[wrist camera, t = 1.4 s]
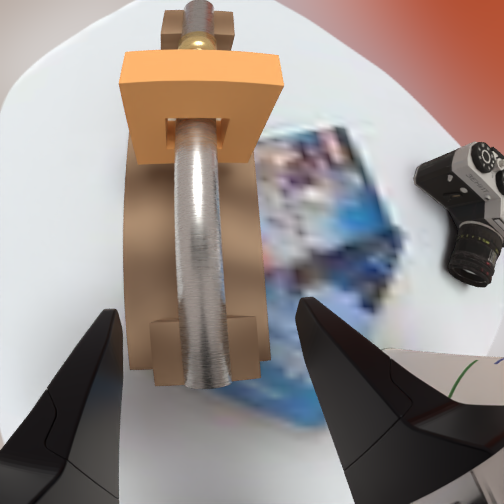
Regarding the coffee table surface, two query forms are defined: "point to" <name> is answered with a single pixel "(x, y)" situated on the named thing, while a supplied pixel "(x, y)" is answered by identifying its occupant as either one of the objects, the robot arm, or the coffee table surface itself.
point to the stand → (164, 259)
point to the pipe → (199, 230)
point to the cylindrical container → (456, 374)
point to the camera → (470, 206)
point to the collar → (198, 98)
